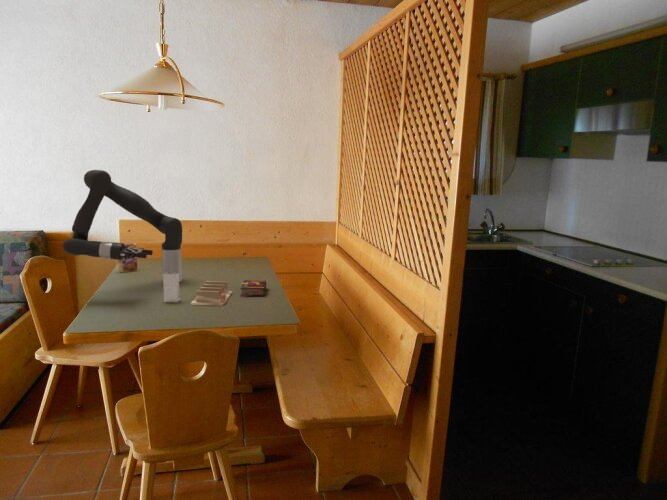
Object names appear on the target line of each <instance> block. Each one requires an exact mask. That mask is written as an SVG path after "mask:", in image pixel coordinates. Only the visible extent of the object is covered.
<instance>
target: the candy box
mask: <svg viewBox="0 0 667 500" xmlns="http://www.w3.org/2000/svg"><path fill="white" fill-rule="evenodd" d="M124 244H125V247H126V248H129V247H135V248H138V247H137V246H138V245H137V243H135V242H132V243H131V242H129V243H124ZM134 271H135V272H137V271H138V258H134V259H132V258H124V259H123V260H118V272H120V273H122V272H123V273H128V272H134Z"/></svg>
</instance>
